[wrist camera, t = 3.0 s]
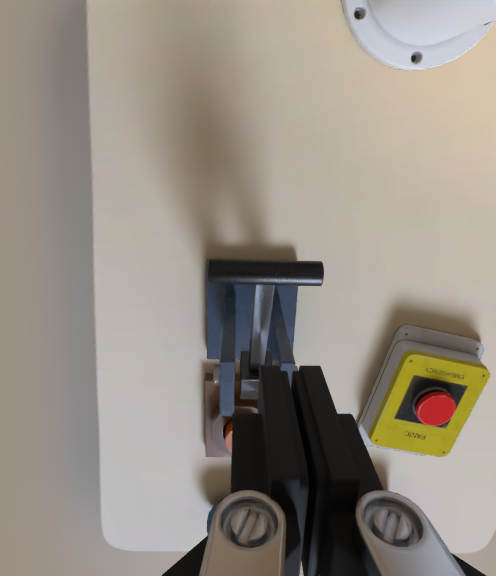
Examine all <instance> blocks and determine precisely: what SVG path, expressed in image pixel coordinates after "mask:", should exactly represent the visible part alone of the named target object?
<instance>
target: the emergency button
mask: <svg viewBox="0 0 496 576" xmlns="http://www.w3.org/2000/svg"><path fill="white" fill-rule="evenodd" d="M483 351H484V347H483V345H482V344H481V343H480V342H479V341H478V340H476V339H472V338H467V337H463V336H458V335H453V334H449V333H444V332H440V331H435V330H431V329H426V328H421V327H417V326H412V325H403V326H401V327H400V328H399V329H398V330H397V332H396V334H395V336H394V338H393V341H392V343H391V346H390V348H389V350H388V353H387V355H386V358H385V360H384V362H383V365H382V367H381V370H380V372H379V374H378V377H377V379H376V381H375V384H374V386H373V389H372V391H371V393H370V396H369V398H368V401H367V403H366V405H365V408H364V410H363V413H362V415H361V417H360V420H359V422H358V425H357V426H358V429H359V431H360V434H361V436H362V439H363V441H364V444H365V445H367V446H372V447H378V448H383V449H388V450H394V451H399V452H405V453H410V454H416V455H421V456H424V455H431V456H437V457H444V456H446V455H448V454H449V452H450V451H451V449H452V447H453V445H454V443H455V441H456V439H457V438H458V436H459V434H460V432H461V430H462V428H463V426H464V424H465V423H466V421H467V419H468V417H469V415H470V413H471V411H472V409H473V408H474V406H475V404H476V402H477V400H478V398H479V396H480V394H481V393H482V391H483V389H484V387H485V385H486V383H487V381H488V379H489V377H490V373H489V371H488V369H487V368H486V366H484V365H483V363H482V362H481V361H480V358H481V356H482V354H483Z"/></svg>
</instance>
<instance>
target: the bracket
mask: <svg viewBox="0 0 496 576" xmlns="http://www.w3.org/2000/svg"><path fill="white" fill-rule="evenodd" d="M208 262H209V260H207V263H206V281H207V359H220V365H214V372H213V384H214V385H220V416H232V413H234V390H235V359H241V351H249V346H250V331H251V316H252V302H253V287H254V285H238V284H209V283H208ZM297 290H298V286H289V285H275V291H274V299H273V307H272V315H271V323H270V331H269V339H268V347H267V351H271V353H272V365H279V366H280V370H281V371H287V372H288V377H289V382H290V387H291V378H292V371H298V368H297V366H295V360H294V356H293V341H294V328H295V316H296V303H297Z"/></svg>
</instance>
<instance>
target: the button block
mask: <svg viewBox="0 0 496 576" xmlns="http://www.w3.org/2000/svg"><path fill="white" fill-rule="evenodd" d="M257 410H258V399H240V375H235V390H234V413H257ZM230 420H232V416H220V385H214V384H213V374H206V376H205V440H206V457H232V453H231V452H230V451H229V450H228V449H227V447H226V445H225V432H226V426H227V424H228V422H229V421H230Z"/></svg>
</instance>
